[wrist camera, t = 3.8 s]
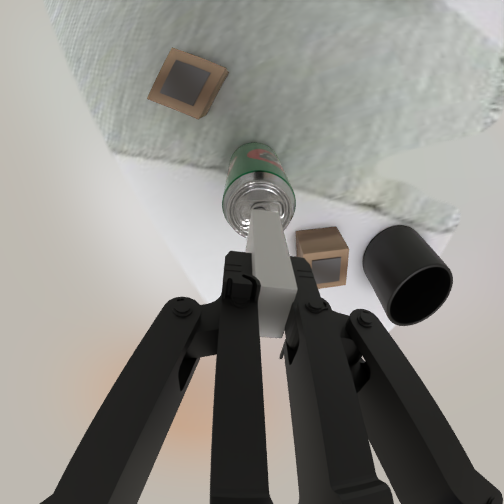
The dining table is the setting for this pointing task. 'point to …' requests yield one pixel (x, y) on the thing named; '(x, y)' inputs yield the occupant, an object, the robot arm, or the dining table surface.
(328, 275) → the walnut block
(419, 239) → the mug
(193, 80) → the walnut block
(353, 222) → the dining table surface
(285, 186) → the soda can
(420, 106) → the dining table surface
